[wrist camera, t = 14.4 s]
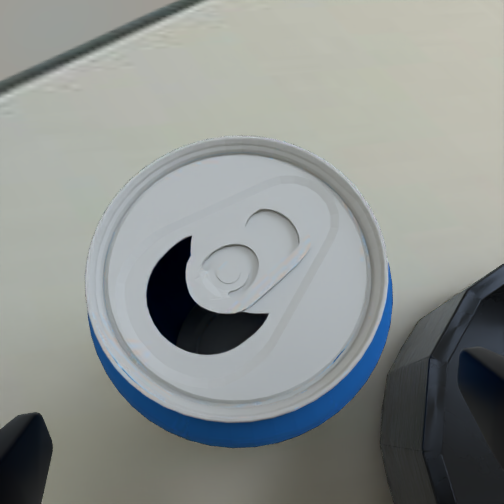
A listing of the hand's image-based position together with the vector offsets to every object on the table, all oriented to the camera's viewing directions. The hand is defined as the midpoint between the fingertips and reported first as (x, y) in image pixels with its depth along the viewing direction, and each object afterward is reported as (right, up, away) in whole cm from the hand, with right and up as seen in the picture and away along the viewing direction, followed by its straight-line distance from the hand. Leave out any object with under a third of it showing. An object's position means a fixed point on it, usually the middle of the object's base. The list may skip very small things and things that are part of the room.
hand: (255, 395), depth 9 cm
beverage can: (0, -2, +10) cm, 10 cm away
